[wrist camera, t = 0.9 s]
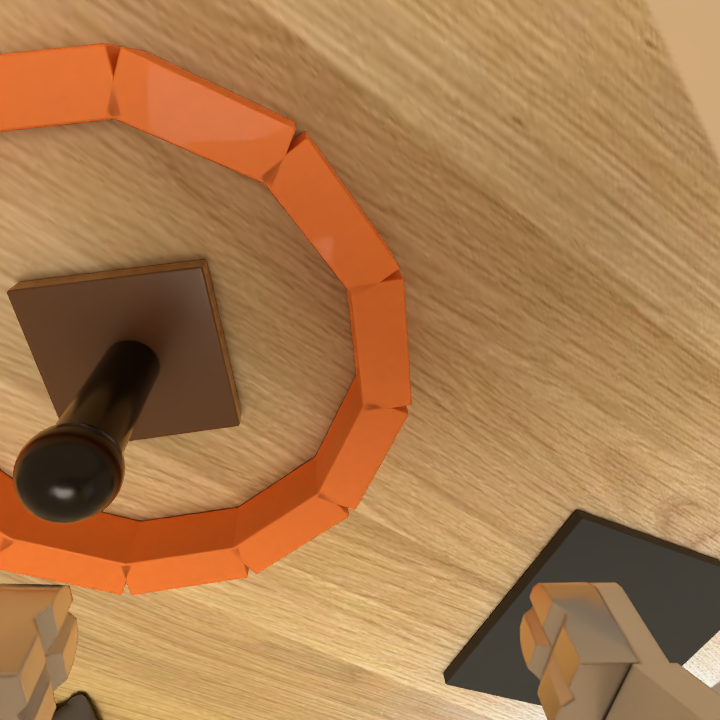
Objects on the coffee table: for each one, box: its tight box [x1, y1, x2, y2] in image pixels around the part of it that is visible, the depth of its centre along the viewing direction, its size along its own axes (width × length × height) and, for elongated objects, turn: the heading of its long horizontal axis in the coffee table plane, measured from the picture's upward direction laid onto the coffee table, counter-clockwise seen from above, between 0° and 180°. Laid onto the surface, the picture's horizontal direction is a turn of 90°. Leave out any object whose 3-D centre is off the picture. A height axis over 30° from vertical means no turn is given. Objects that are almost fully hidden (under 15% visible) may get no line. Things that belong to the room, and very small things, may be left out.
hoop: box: [0, 43, 412, 595], centre depth 24 cm, size 24×24×3 cm
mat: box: [443, 510, 720, 706], centre depth 38 cm, size 16×16×1 cm
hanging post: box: [7, 259, 241, 524], centre depth 21 cm, size 8×8×10 cm
